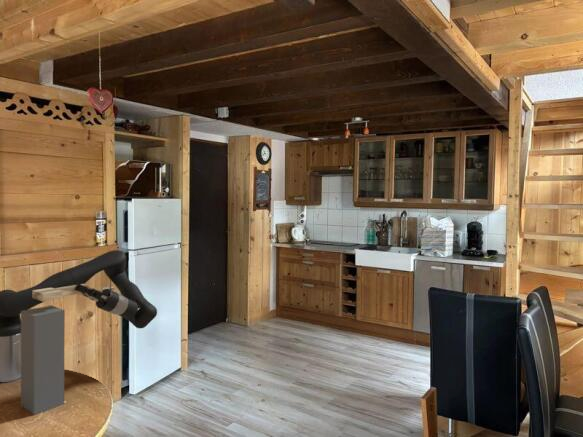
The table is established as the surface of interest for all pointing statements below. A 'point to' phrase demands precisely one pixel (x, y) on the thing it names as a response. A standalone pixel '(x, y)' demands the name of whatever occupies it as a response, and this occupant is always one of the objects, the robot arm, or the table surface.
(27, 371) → the tall grey pillar
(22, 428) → the table surface
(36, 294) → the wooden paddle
